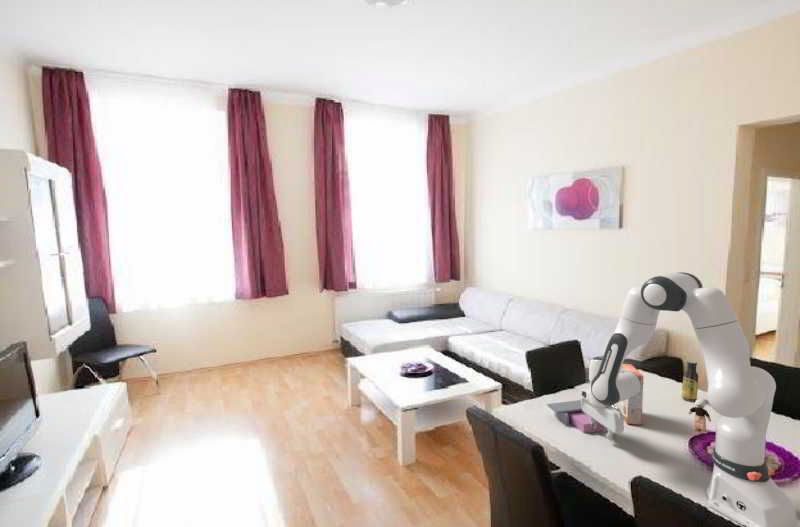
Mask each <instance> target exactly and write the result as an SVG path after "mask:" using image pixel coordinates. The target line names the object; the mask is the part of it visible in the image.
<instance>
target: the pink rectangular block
mask: <svg viewBox="0 0 800 527" xmlns="http://www.w3.org/2000/svg"><path fill="white" fill-rule="evenodd" d="M566 413H567V414H569V424H571V423H572V424H571V425H573V426H574V427H575V428H576V429H577V430H579V431H580V432H581V433H583V434H586V433H587V432H588V433H593V432H600V431H601V432H602V431H604V430H605V426H603V425H602V424H600V423H599V422H597V421H596V420H595V421H596V424H597V429H593V428H592V427H591V422H590V419H589V415H587V414H586V413H584V412H583V411H582V410H581V411H573V412H566Z"/></svg>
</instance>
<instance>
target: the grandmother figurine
mask: <svg viewBox="0 0 800 527" xmlns="http://www.w3.org/2000/svg"><path fill="white" fill-rule="evenodd" d="M694 404H695V405H696V406H694V407H691V408H690V409H689V411H688V415H692V414H693V413H695V414H694V428H693V430H694V431H696V432H699V431H700V432H701V433H702V434H706V433H705V432H708V433H709V430H708V429H707V421H708V422H709V423H710V422H712V419H711V415H710V414H709V412H708V411H707V410H706V409H704V408H705V405H706V400H705V399H703V398H696V401H694Z"/></svg>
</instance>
